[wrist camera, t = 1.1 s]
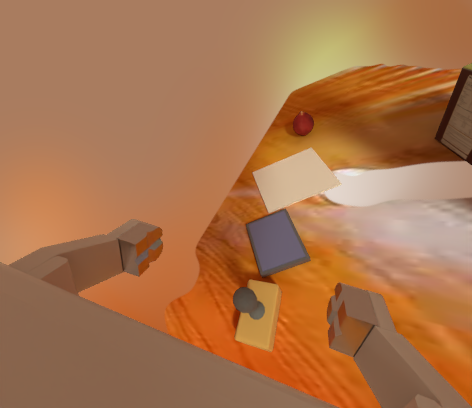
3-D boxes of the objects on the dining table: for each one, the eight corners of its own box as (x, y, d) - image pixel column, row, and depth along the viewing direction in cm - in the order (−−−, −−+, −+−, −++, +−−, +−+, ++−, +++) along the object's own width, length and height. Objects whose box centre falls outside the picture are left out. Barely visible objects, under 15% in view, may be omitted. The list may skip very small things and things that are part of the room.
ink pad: (286, 211, 50) (285, 207, 49) (310, 260, 41) (309, 257, 40) (247, 227, 52) (245, 223, 51) (262, 277, 43) (260, 274, 42)
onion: (295, 130, 68) (291, 107, 62) (314, 127, 66) (312, 103, 60) (294, 142, 65) (289, 118, 59) (314, 139, 62) (312, 114, 57)
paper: (311, 148, 61) (311, 147, 60) (341, 184, 50) (341, 183, 49) (252, 173, 63) (252, 172, 63) (268, 213, 52) (268, 212, 52)
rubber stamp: (253, 285, 43) (232, 260, 34) (282, 290, 40) (267, 265, 31) (240, 342, 37) (211, 330, 29) (272, 352, 35) (251, 343, 26)
